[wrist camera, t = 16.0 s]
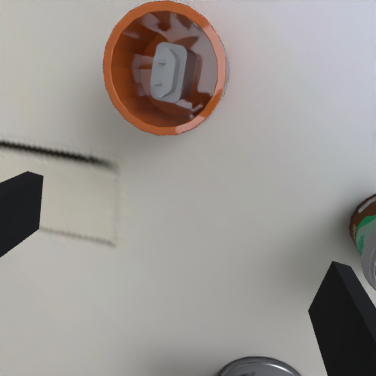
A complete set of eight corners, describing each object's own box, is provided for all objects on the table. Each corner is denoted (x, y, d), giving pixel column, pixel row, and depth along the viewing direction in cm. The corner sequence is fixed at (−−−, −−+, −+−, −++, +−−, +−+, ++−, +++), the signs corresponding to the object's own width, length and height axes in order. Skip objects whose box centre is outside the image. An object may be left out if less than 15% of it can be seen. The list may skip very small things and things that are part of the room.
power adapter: (197, 51, 36) (179, 41, 25) (189, 99, 38) (168, 109, 27) (172, 46, 37) (142, 34, 25) (164, 94, 39) (134, 101, 27)
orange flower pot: (213, 132, 40) (205, 149, 31) (128, 107, 40) (94, 116, 31) (242, 34, 36) (243, 20, 26) (145, 8, 36) (113, -15, 27)
